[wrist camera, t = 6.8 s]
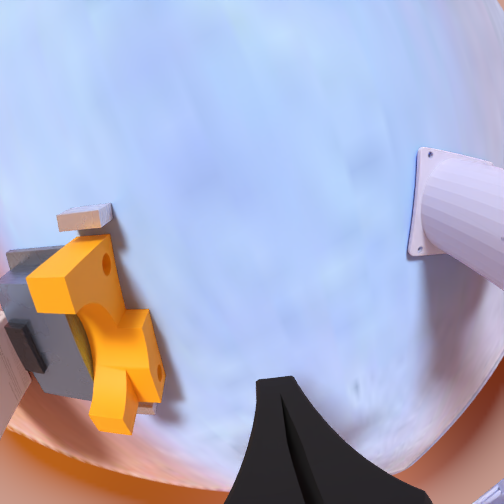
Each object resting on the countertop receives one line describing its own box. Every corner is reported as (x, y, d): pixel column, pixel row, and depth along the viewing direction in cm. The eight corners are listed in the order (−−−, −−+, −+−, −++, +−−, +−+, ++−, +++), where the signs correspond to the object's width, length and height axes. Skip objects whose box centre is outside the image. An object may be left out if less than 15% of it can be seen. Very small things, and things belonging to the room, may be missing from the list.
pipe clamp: (165, 373, 21) (156, 437, 15) (118, 371, 21) (99, 430, 15) (135, 231, 17) (96, 276, 11) (77, 235, 16) (25, 277, 10)
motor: (111, 202, 16) (79, 221, 12) (158, 397, 22) (151, 436, 18) (3, 218, 15) (-34, 237, 11) (65, 388, 21) (51, 420, 17)
